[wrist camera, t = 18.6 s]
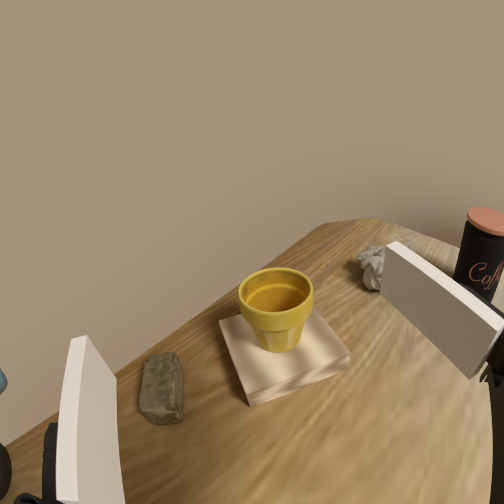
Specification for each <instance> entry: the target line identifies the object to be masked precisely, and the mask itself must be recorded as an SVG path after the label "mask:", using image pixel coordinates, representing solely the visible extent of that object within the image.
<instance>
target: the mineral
mask: <svg viewBox="0 0 504 504" xmlns="http://www.w3.org/2000/svg"><path fill="white" fill-rule="evenodd" d="M399 243H400V242H399ZM401 244H402V245H404V246H405V247H407V248H408V249H410V250H411V251H413V252H414V249H413V248H412V247H411V246H409V245H408V244H404V243H401ZM385 248H386V246H385V247H380V246H379V247H376V248H375V247H374V246H372V245H371V246H370V247H368V248H367V250H362V251H361V252H360V253H359V254H357V256H356V259H357V260H358V261H360V263H361V268H362V269H364V274H363V282H364V284H365V286H366V287H367V288H368V289H369V290H372V289H374V290H375V289H376V290H379V289H380V287H381V281H382V273H383V266H384V257H385ZM414 253H415V252H414Z"/></svg>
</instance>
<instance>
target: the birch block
mask: <svg viewBox="0 0 504 504" xmlns="http://www.w3.org/2000/svg"><path fill="white" fill-rule="evenodd" d="M219 324H220V328H221V331H222V335H223V338H224V340H225V343H226V346H227V349H228V351H229V354H230V357H231V359H232V362H233V365H234V367H235V370H236V372H237V375H238V378H239V380H240V383H241V385H242V388H243V390H244V393H245V395H246V398H247V400H248V403H249V405H250V407H252V406H255V405H258V404H261V403H264V402H267V401H270V400H272V399H275V398H278V397H281V396H283V395H286V394H289V393H291V392H294V391H296V390H299V389H301V388H304V387H306V386H309V385H311V384H313V383H316V382H318V381H321V380H323V379H325V378H327V377H330V376H332V375H334V374H336V373H338V372H341V371H343V370H345V369H347V368H348V363H349V357H350V351H349V350H348V349H347V348H346V346H345V345H344V344H343V342H342V341H341V340H340V339H339V337H338V336H337V335H336V334H335V332H334V331H333V330H332V329H331V327H330V326H329V325H328V324H327V322H326V321H325V320H324V319H323V317H322V316H321V315H320V314H319V312H318V311H317V310H316V309H315V307H314V306H313V307H312V311H311V313H310V315H309V317H308V318H307V319H306V320H305V324H304V327H303V331H302V335H301V338H300V341H299V343H298V344H297V345H296V346H295V347H294V348H292V349H291V350H288V351H286V352H280V353H275V352H270V351H268V350H266V349H264V348H263V347H262V346H261V345H260V344H259V342H258V340H257V338H256V335H255V333H254V331H253V329H252V327H251V325H250V324H249V323H248V322H247V321H246V320H245V319H244V318H243V316H242V314H239V315H236V316H232V317H229V318H226V319H222V320H219Z"/></svg>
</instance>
